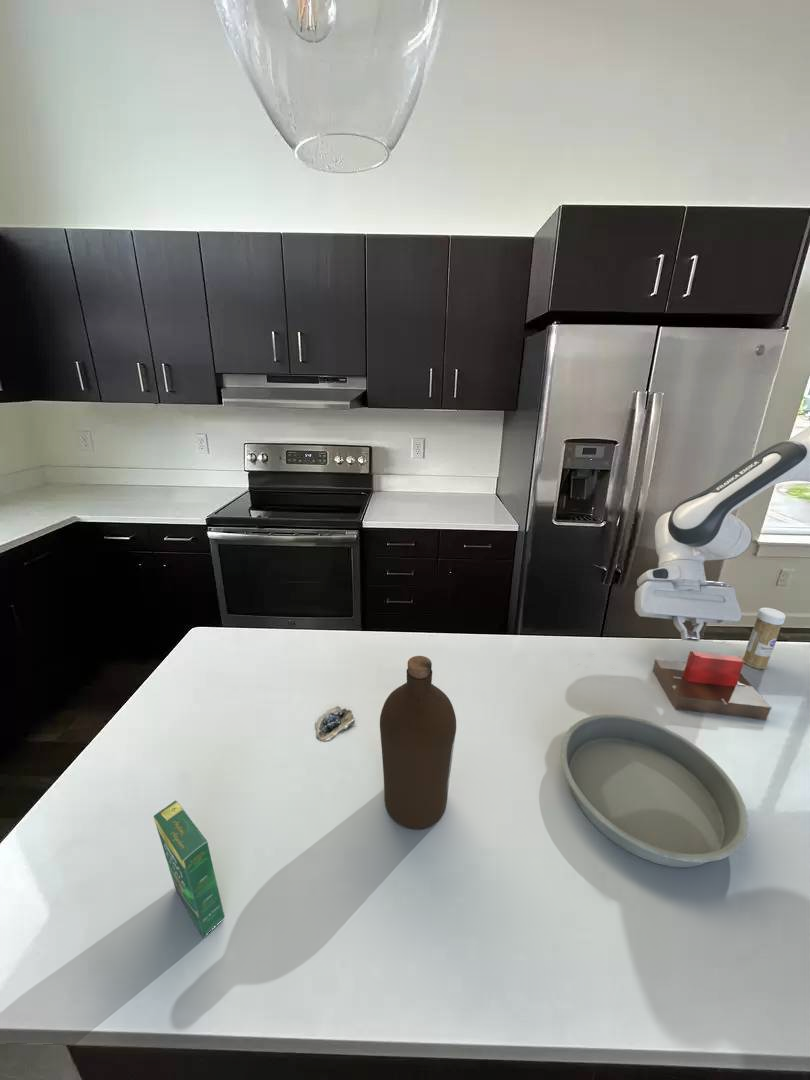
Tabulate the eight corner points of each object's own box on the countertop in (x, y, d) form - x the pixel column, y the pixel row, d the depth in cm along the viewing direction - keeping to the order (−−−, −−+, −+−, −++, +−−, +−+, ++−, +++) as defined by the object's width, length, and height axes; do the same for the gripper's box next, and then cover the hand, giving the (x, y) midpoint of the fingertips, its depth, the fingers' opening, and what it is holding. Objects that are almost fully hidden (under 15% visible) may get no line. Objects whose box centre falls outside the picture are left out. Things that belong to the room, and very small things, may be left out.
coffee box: (172, 888, 53) (151, 813, 48) (195, 869, 55) (177, 796, 50) (202, 941, 48) (181, 863, 43) (226, 918, 50) (209, 842, 45)
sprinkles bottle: (761, 672, 94) (781, 619, 89) (738, 661, 98) (755, 609, 93) (770, 665, 96) (790, 613, 91) (747, 655, 100) (764, 604, 95)
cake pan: (525, 785, 67) (529, 763, 65) (601, 712, 82) (605, 693, 80) (704, 931, 49) (715, 906, 48) (759, 805, 64) (769, 783, 63)
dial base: (730, 677, 92) (734, 665, 91) (768, 722, 80) (773, 709, 79) (651, 668, 95) (654, 657, 94) (676, 711, 82) (680, 698, 81)
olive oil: (388, 843, 58) (388, 696, 50) (374, 777, 68) (372, 644, 59) (461, 824, 61) (473, 682, 52) (437, 764, 71) (444, 635, 62)
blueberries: (361, 716, 80) (360, 708, 80) (337, 747, 73) (337, 739, 73) (331, 705, 83) (330, 698, 82) (305, 734, 76) (304, 726, 75)
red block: (730, 681, 86) (739, 655, 84) (735, 687, 85) (744, 660, 83) (682, 675, 88) (690, 650, 86) (686, 681, 86) (694, 655, 84)
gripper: (724, 587, 97) (736, 648, 92) (629, 579, 100) (634, 638, 95) (741, 578, 92) (754, 642, 86) (639, 570, 95) (645, 632, 89)
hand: (690, 640), depth 91 cm, fingers closed
